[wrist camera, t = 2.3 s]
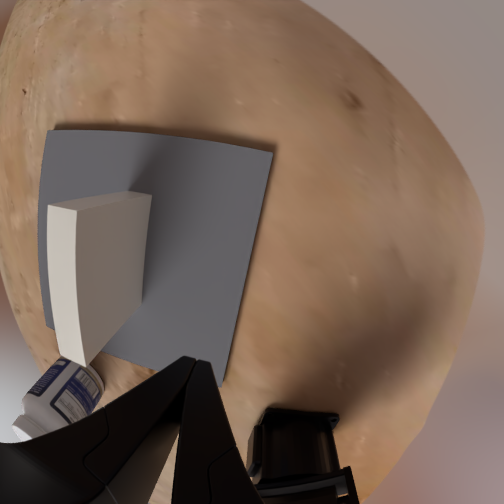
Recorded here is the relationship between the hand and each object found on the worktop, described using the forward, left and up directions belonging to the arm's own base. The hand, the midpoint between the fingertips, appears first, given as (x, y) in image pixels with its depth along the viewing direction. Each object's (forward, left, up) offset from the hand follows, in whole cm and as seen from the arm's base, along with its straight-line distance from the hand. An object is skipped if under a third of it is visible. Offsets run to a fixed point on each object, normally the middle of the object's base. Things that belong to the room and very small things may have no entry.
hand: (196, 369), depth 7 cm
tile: (+6, 0, -8) cm, 10 cm away
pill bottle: (+12, +14, -9) cm, 21 cm away
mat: (+7, +1, -9) cm, 11 cm away
